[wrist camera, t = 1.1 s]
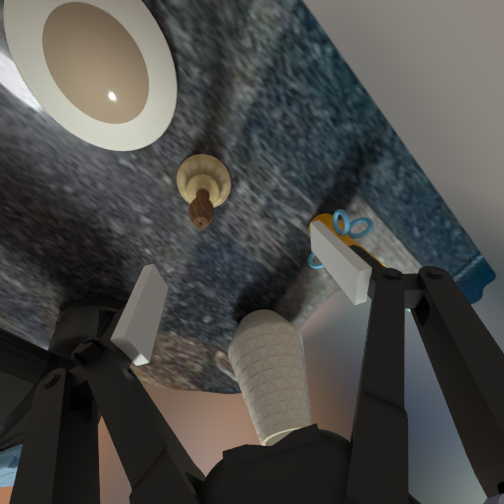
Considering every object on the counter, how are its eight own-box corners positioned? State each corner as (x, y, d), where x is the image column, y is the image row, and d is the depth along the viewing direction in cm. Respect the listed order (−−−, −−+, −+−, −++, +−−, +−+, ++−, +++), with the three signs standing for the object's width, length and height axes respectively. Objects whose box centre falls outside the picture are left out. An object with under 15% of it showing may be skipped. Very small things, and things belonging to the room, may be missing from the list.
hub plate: (75, 158, 28) (69, 160, 26) (-29, -29, 19) (-48, -41, 17) (193, 139, 29) (192, 140, 27) (147, -46, 20) (142, -58, 19)
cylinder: (294, 202, 36) (337, 245, 24) (350, 191, 37) (420, 226, 24) (296, 257, 43) (331, 313, 31) (343, 247, 44) (396, 297, 31)
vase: (274, 347, 60) (303, 454, 40) (216, 341, 54) (219, 462, 34) (304, 306, 52) (358, 414, 33) (241, 293, 46) (263, 416, 27)
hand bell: (177, 148, 29) (147, 170, 16) (234, 159, 31) (251, 187, 18) (176, 204, 33) (152, 259, 20) (227, 211, 35) (236, 265, 22)
